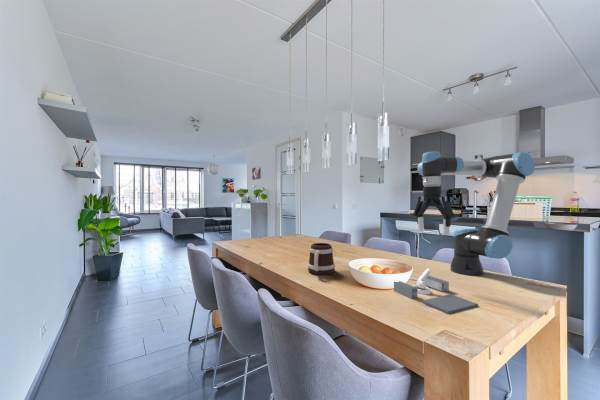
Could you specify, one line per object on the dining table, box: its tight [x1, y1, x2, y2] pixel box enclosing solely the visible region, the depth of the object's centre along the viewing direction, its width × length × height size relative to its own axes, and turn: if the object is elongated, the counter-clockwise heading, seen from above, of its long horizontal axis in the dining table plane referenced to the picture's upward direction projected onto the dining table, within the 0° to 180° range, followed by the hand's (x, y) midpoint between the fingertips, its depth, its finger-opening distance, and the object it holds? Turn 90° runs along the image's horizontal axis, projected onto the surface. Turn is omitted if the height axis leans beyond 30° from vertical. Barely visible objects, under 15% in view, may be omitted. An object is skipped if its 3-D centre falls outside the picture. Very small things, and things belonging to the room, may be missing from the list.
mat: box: [421, 293, 479, 315], centre depth 101 cm, size 16×11×1 cm
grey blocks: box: [393, 275, 450, 300], centre depth 116 cm, size 21×10×4 cm, turn 113°
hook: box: [413, 268, 432, 295], centre depth 115 cm, size 8×12×7 cm
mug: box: [307, 242, 336, 276], centre depth 146 cm, size 20×15×15 cm
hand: (433, 232), depth 123 cm, fingers open, 13 cm apart
